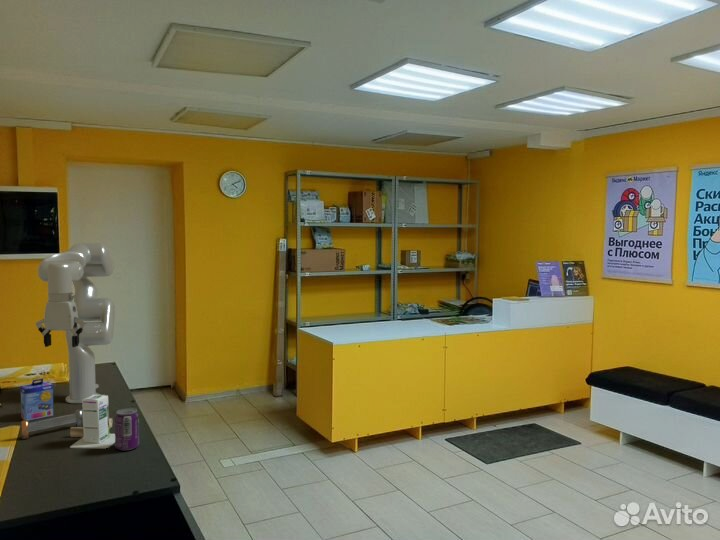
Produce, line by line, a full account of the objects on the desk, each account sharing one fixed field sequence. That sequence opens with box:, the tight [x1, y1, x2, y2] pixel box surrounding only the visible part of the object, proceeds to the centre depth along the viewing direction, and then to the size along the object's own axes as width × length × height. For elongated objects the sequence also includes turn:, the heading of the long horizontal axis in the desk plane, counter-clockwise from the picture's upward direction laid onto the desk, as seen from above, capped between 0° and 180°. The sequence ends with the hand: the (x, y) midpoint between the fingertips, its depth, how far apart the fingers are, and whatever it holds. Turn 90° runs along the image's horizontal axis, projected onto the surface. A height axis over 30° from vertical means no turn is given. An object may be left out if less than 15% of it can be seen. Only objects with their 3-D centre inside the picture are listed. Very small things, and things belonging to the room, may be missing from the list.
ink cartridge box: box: [20, 378, 54, 422], centre depth 211 cm, size 10×6×14 cm, turn 137°
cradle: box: [69, 417, 114, 438], centre depth 197 cm, size 11×10×3 cm
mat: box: [69, 433, 115, 450], centre depth 188 cm, size 12×12×1 cm
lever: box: [20, 408, 83, 440], centre depth 195 cm, size 19×2×6 cm, turn 134°
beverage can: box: [114, 407, 140, 452], centre depth 183 cm, size 7×7×12 cm
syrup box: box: [81, 394, 111, 443], centre depth 188 cm, size 6×6×14 cm
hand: (61, 346), depth 201 cm, fingers open, 9 cm apart
